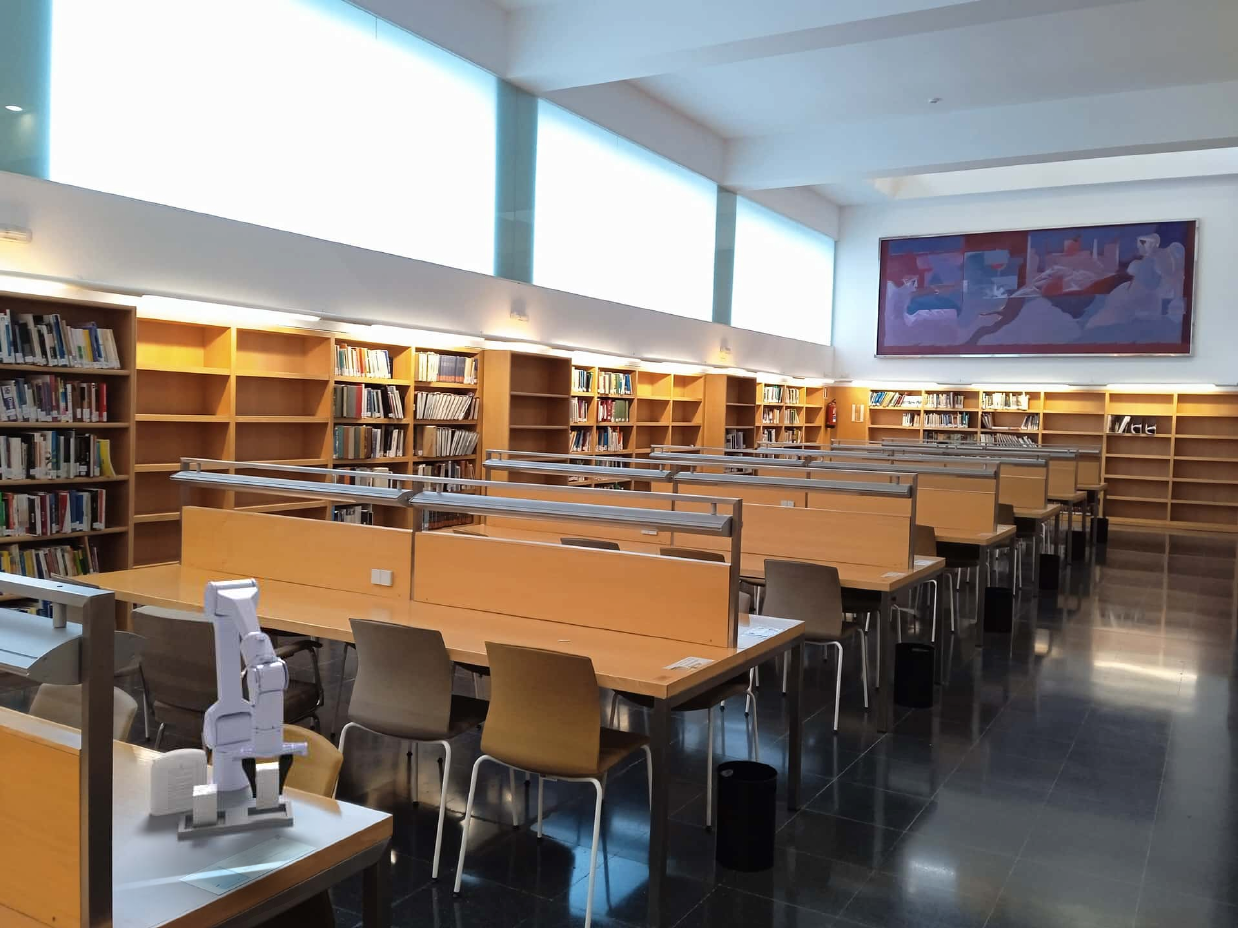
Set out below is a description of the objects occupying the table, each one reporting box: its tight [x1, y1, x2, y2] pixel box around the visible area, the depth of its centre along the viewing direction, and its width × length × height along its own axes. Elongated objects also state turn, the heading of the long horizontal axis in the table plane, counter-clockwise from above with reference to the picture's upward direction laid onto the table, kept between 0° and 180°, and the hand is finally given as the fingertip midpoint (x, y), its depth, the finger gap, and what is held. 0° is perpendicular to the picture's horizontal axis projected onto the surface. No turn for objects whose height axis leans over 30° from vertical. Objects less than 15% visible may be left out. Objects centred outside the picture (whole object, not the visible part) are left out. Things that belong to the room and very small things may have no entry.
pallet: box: [177, 800, 294, 840], centre depth 185 cm, size 9×20×2 cm, turn 112°
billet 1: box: [192, 783, 218, 828], centre depth 183 cm, size 5×4×7 cm
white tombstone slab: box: [149, 748, 208, 817], centre depth 191 cm, size 10×4×12 cm, turn 123°
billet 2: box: [255, 761, 280, 809], centre depth 187 cm, size 5×4×7 cm
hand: (267, 794), depth 187 cm, fingers closed on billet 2, 4 cm apart
